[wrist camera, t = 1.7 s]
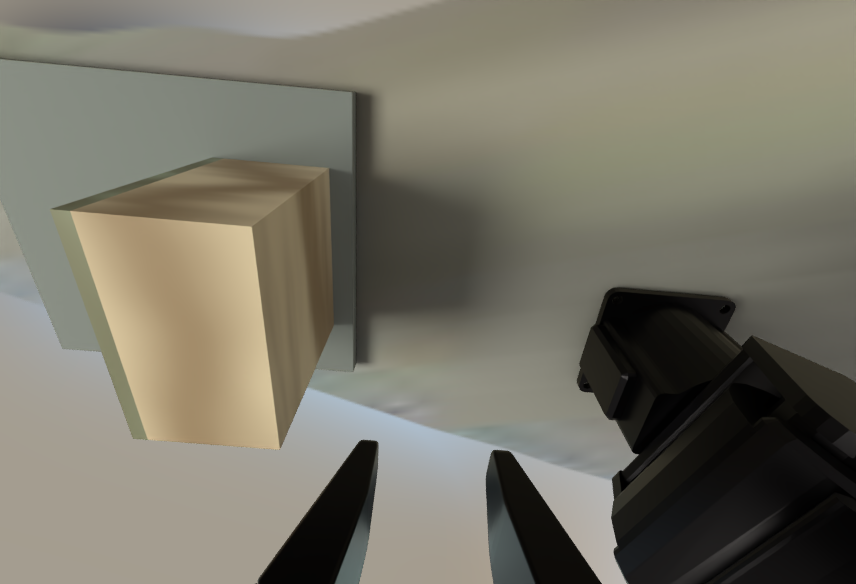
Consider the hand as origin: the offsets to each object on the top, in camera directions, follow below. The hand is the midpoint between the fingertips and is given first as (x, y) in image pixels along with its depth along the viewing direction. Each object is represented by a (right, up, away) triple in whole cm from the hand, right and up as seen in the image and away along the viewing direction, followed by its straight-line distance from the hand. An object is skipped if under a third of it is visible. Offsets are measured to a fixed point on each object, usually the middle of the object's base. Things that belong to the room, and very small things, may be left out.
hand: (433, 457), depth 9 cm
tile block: (-7, +6, +10) cm, 13 cm away
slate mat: (-12, +7, +10) cm, 17 cm away
